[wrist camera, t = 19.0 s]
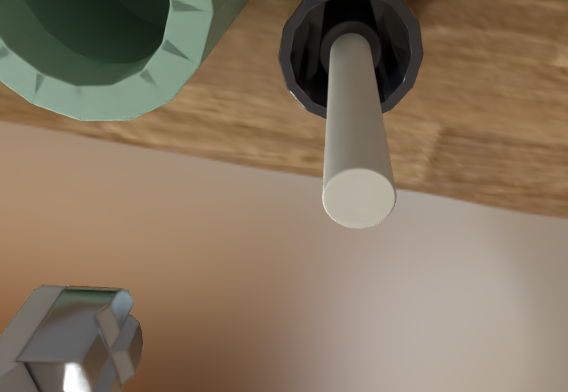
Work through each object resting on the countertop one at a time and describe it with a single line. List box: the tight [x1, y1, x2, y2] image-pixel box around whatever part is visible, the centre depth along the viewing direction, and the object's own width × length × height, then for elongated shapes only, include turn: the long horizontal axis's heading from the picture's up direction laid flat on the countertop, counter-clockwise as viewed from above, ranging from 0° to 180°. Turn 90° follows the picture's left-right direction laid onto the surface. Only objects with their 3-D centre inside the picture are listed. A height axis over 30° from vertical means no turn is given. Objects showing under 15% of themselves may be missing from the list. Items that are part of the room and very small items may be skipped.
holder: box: [278, 0, 423, 119], centre depth 24 cm, size 6×6×7 cm
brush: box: [319, 0, 396, 228], centre depth 19 cm, size 3×3×17 cm
